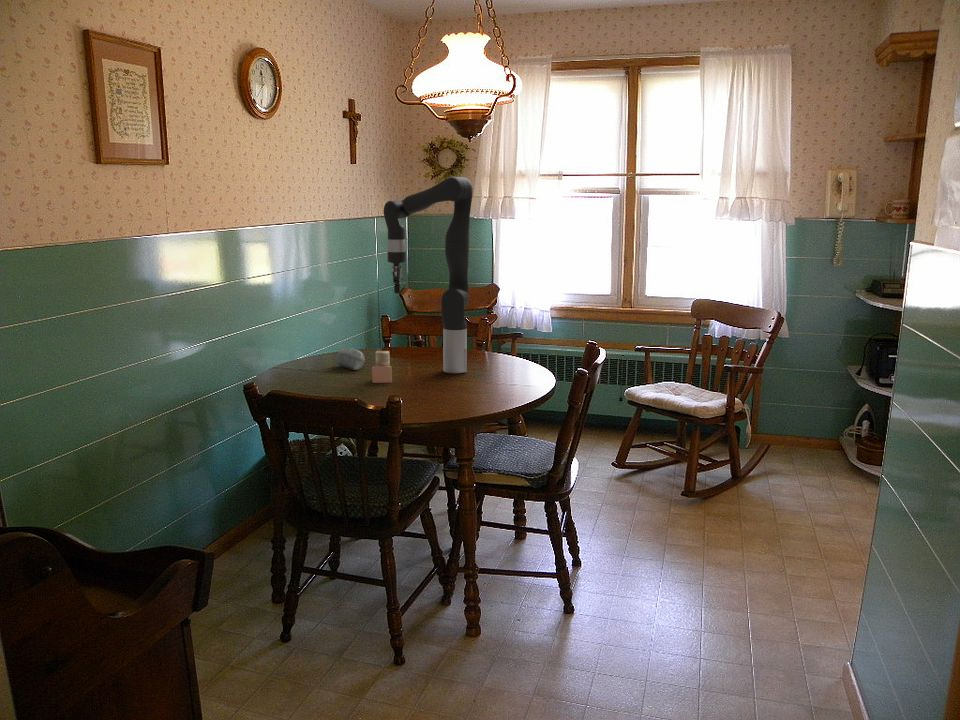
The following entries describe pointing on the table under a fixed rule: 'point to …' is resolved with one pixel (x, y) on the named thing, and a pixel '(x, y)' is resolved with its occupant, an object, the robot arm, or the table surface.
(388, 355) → the keeper
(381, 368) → the block
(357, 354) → the grey rounded lump
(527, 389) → the table surface
